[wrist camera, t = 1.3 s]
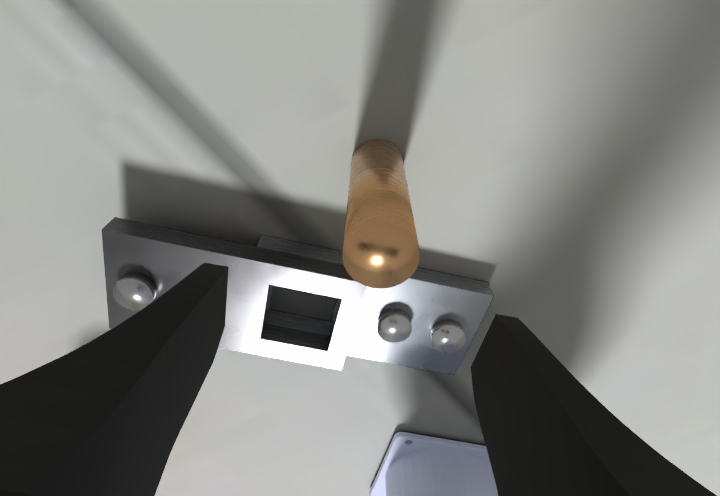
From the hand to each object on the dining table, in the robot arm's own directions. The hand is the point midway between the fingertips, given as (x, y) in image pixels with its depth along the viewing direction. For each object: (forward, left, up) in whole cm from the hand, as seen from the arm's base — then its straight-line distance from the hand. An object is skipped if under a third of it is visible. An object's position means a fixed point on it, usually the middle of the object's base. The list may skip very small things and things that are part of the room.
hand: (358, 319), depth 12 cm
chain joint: (+1, +7, -10) cm, 13 cm away
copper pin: (-1, -1, -10) cm, 11 cm away
